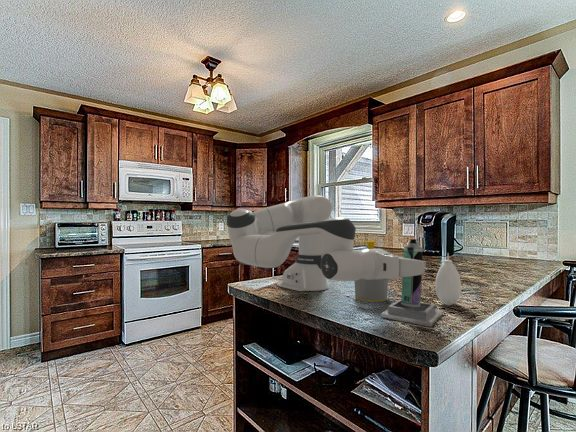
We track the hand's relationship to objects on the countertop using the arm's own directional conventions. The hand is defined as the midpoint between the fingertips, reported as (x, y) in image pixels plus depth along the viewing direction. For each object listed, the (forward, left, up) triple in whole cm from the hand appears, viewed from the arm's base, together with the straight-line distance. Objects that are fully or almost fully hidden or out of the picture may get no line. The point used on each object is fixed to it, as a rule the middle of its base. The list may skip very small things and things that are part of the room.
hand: (414, 262), depth 100 cm
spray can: (-1, -1, -13) cm, 13 cm away
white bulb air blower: (+5, +20, -16) cm, 27 cm away
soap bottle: (-20, +13, -17) cm, 29 cm away
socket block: (-1, -1, -16) cm, 16 cm away
